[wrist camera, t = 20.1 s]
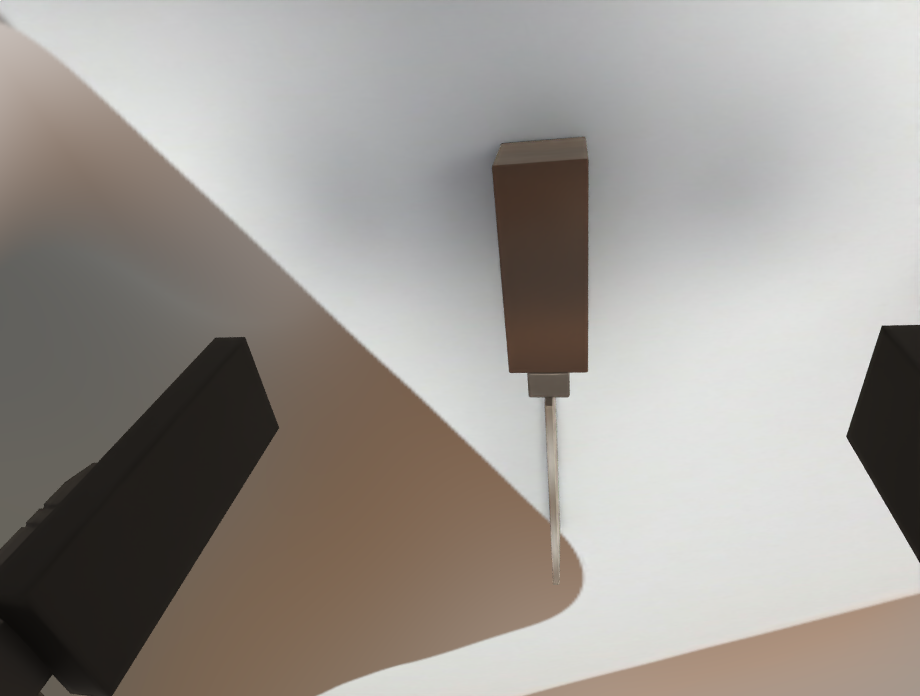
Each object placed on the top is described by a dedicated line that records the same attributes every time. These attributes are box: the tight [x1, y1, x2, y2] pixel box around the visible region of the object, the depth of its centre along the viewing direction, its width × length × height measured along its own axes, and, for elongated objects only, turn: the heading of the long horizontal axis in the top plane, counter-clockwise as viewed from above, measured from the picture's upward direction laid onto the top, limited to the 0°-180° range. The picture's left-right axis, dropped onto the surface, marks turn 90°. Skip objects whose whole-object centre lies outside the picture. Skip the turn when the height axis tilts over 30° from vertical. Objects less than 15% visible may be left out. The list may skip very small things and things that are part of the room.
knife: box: [492, 137, 589, 585], centre depth 24 cm, size 20×3×4 cm, turn 7°
